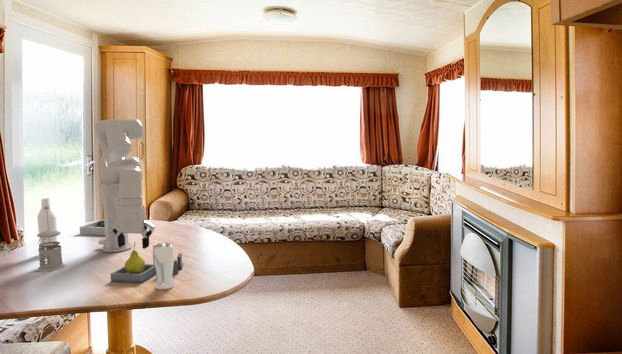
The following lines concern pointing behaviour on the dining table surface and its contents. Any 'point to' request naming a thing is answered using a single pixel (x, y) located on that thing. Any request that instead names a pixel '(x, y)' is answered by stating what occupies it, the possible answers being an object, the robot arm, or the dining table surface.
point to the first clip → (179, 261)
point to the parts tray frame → (92, 229)
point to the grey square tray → (133, 275)
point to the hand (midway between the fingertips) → (133, 246)
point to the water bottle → (43, 221)
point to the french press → (50, 251)
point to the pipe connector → (101, 224)
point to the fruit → (134, 263)
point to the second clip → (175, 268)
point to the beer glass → (163, 265)
